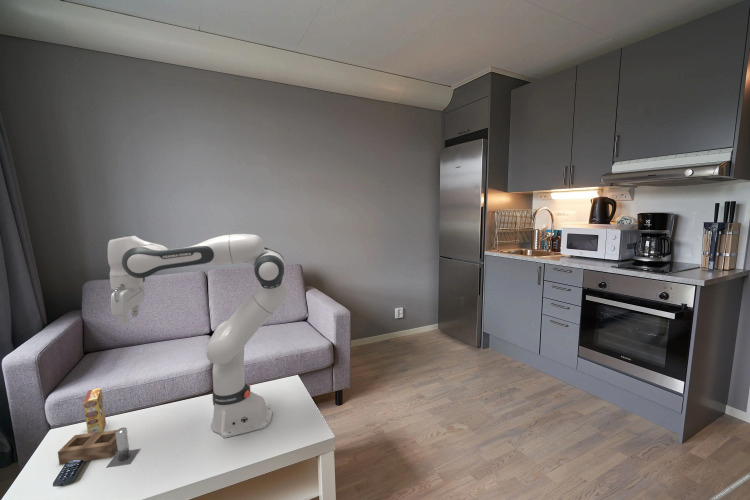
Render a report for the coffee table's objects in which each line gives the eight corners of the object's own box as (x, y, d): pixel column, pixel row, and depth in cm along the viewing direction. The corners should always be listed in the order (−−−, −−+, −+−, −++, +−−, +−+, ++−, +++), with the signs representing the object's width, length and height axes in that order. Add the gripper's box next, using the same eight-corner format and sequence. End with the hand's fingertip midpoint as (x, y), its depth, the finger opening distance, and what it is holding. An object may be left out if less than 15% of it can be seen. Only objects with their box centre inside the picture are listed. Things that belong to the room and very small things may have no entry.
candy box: (103, 436, 119) (98, 398, 117) (87, 441, 116) (82, 401, 114) (106, 423, 126) (102, 386, 124) (92, 427, 124) (87, 390, 122)
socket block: (125, 441, 116) (123, 429, 115) (112, 458, 108) (110, 444, 108) (76, 448, 113) (74, 435, 112) (59, 465, 105) (57, 451, 104)
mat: (141, 449, 112) (140, 448, 112) (130, 465, 105) (130, 464, 105) (118, 452, 111) (118, 451, 111) (105, 468, 104) (105, 467, 104)
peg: (131, 453, 110) (128, 426, 109) (126, 460, 107) (123, 432, 106) (121, 455, 109) (118, 428, 108) (116, 461, 106) (113, 434, 105)
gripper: (126, 288, 104) (130, 329, 105) (146, 275, 123) (149, 310, 124) (102, 289, 101) (107, 331, 103) (126, 276, 120) (130, 312, 122)
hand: (130, 320), depth 114 cm, fingers open, 8 cm apart
